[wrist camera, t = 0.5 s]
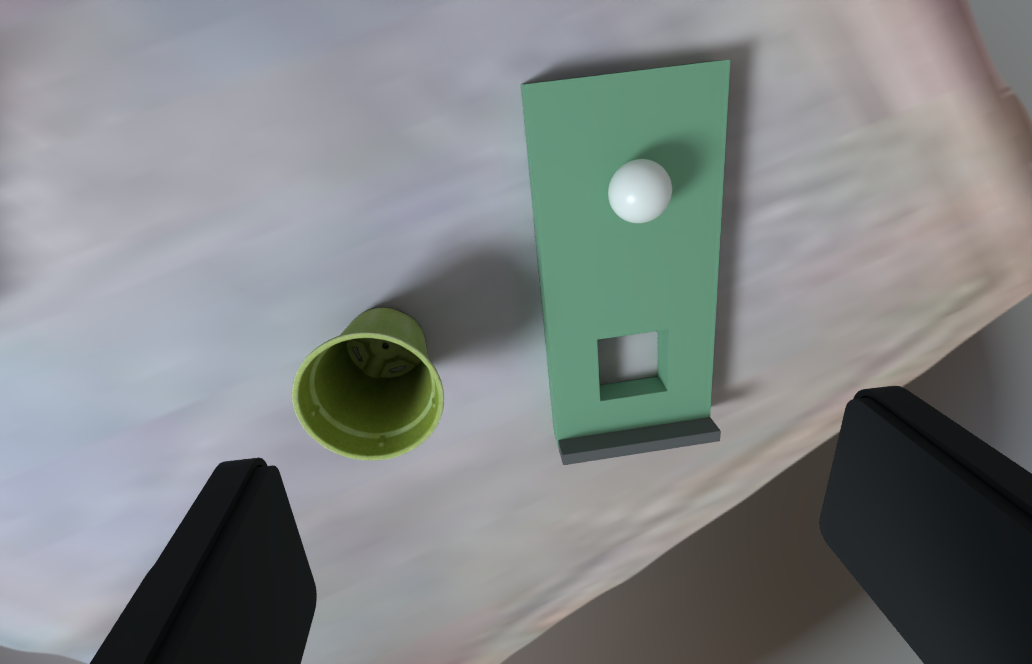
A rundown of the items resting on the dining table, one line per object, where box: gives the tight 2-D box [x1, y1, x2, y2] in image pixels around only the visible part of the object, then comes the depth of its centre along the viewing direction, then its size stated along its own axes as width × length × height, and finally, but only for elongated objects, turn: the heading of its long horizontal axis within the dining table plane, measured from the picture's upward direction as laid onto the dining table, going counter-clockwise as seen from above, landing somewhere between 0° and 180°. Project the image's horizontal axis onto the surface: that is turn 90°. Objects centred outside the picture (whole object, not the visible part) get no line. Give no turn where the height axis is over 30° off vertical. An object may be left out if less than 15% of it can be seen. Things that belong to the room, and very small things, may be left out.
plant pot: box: [292, 308, 444, 460], centre depth 38 cm, size 9×9×9 cm
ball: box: [608, 159, 672, 223], centre depth 34 cm, size 4×4×4 cm
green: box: [521, 60, 730, 465], centre depth 39 cm, size 28×13×4 cm, turn 6°
